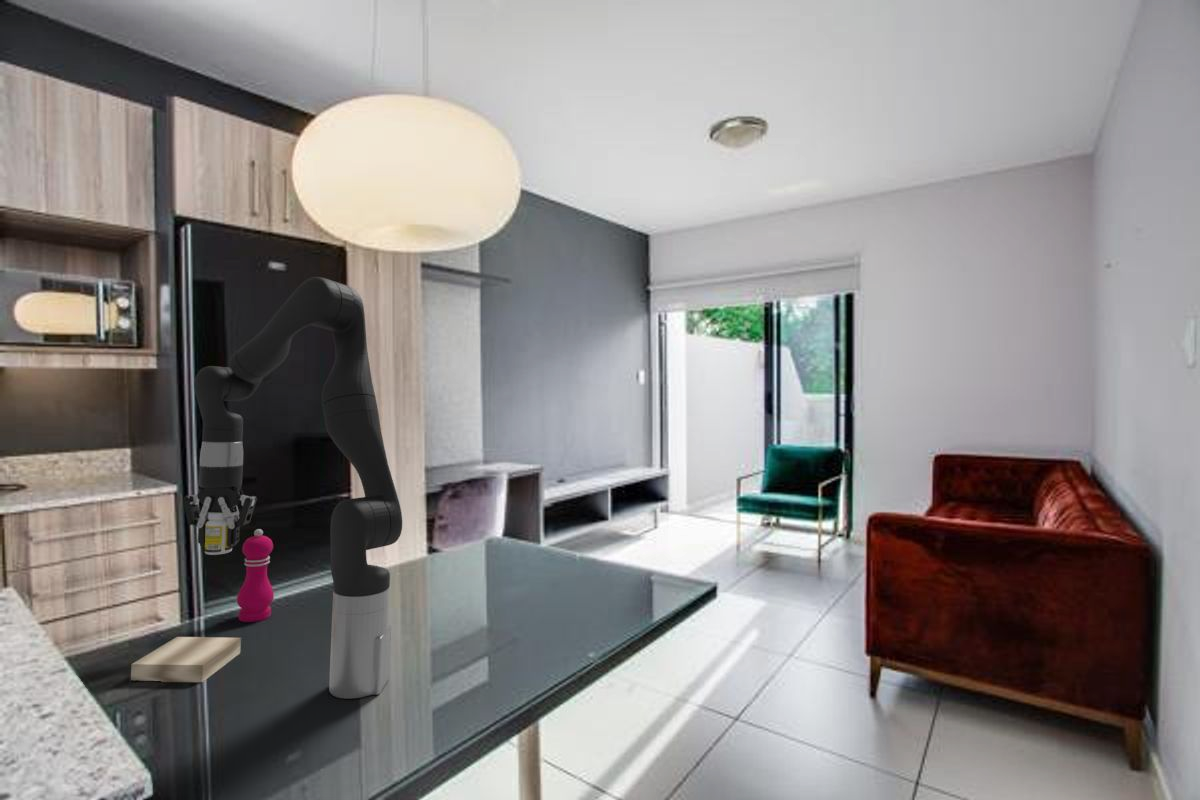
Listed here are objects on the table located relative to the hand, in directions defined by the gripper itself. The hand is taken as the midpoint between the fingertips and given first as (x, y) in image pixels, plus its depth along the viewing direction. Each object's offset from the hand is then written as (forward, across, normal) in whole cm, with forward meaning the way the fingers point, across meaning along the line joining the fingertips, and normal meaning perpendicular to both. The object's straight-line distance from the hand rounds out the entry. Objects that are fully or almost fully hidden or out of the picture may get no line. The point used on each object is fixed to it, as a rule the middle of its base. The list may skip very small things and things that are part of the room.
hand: (218, 545), depth 121 cm
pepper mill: (+19, -2, -12) cm, 23 cm away
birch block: (+19, -3, +13) cm, 23 cm away
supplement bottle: (+2, 0, 0) cm, 2 cm away
